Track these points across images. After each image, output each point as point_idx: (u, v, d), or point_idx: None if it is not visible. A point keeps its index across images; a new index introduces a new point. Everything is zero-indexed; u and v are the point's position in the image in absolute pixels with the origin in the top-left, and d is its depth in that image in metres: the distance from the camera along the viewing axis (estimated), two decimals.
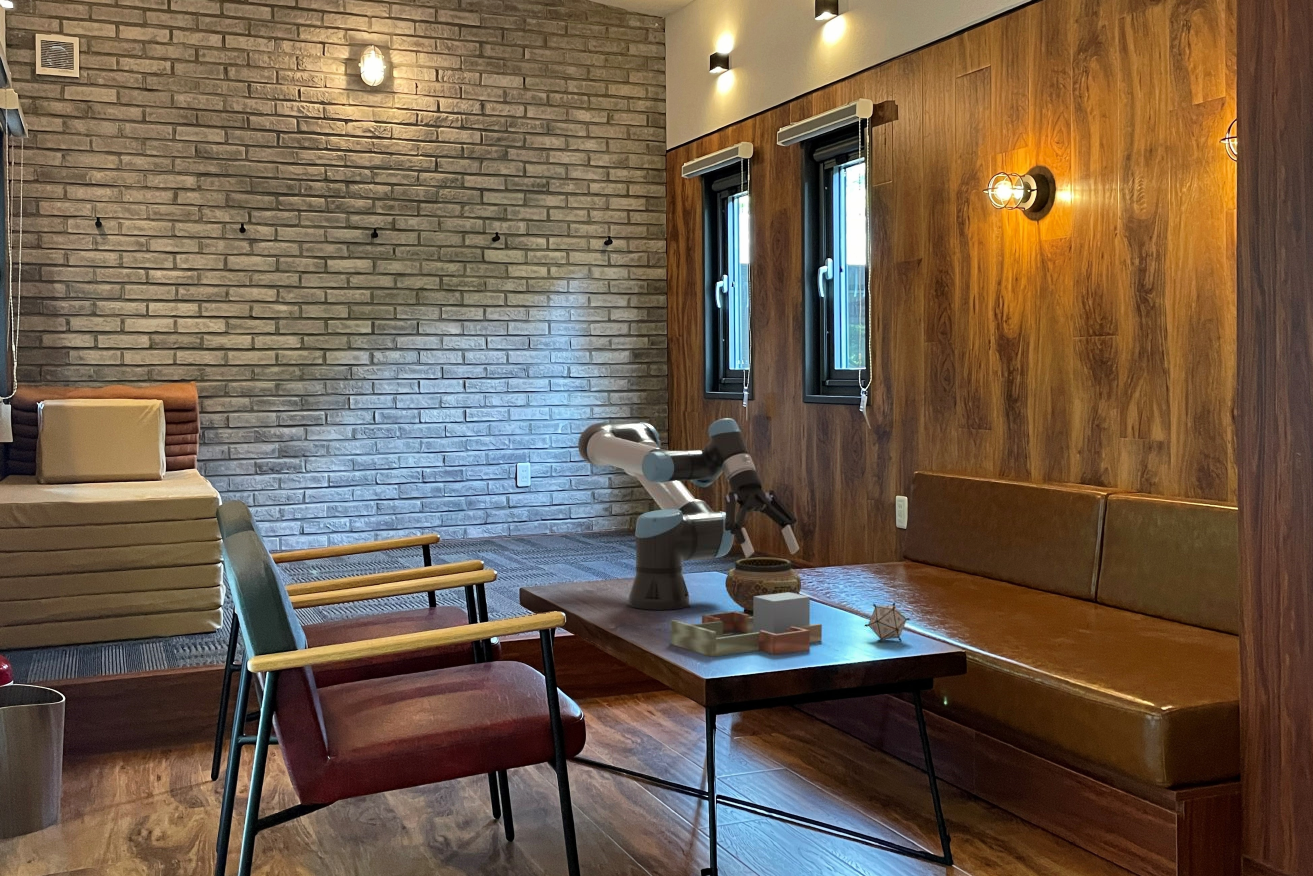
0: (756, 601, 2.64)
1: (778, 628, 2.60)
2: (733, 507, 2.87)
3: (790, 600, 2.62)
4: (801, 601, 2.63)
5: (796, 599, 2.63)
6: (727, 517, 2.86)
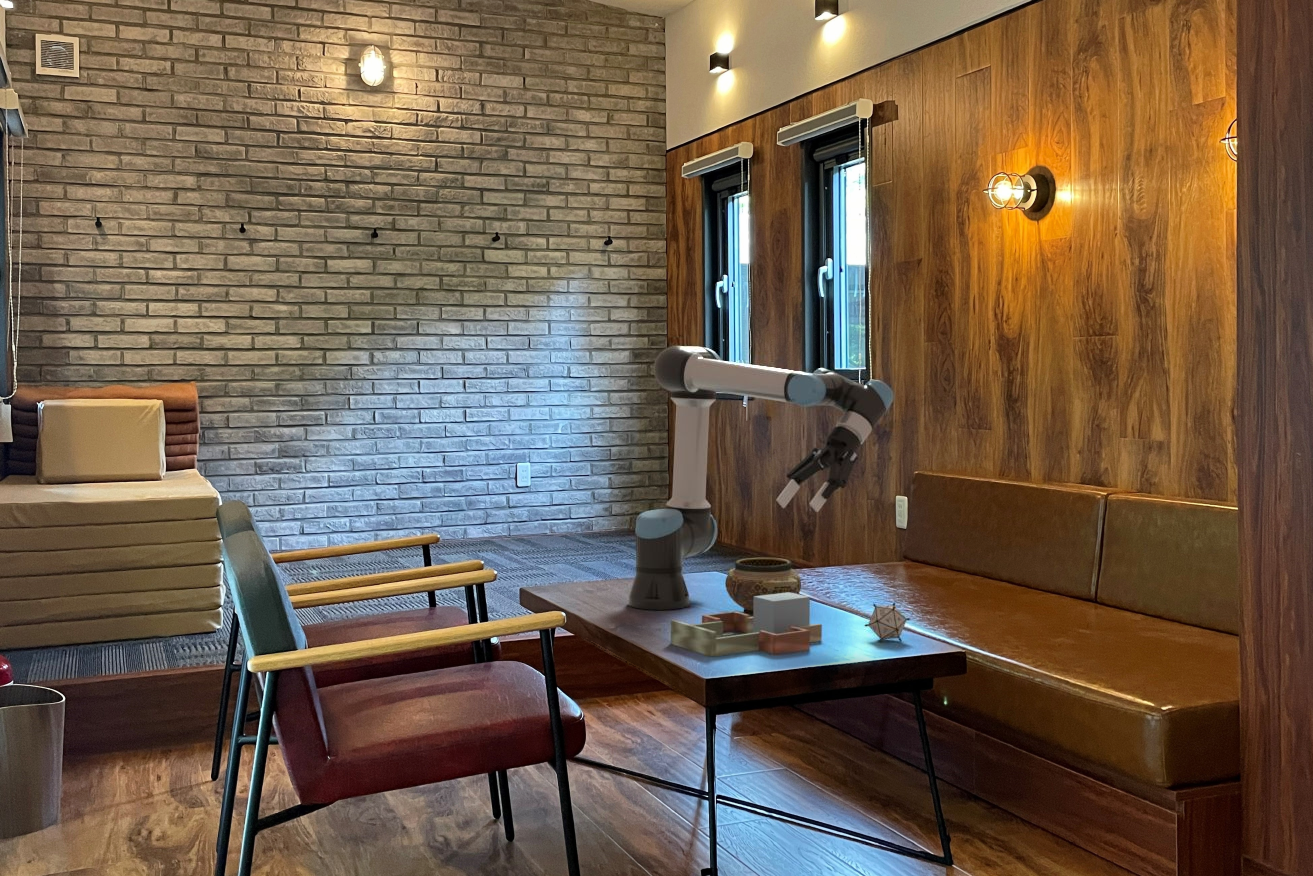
0: (756, 601, 2.64)
1: (778, 628, 2.60)
2: None
3: (790, 600, 2.62)
4: (801, 601, 2.63)
5: (796, 599, 2.63)
6: (845, 473, 2.72)
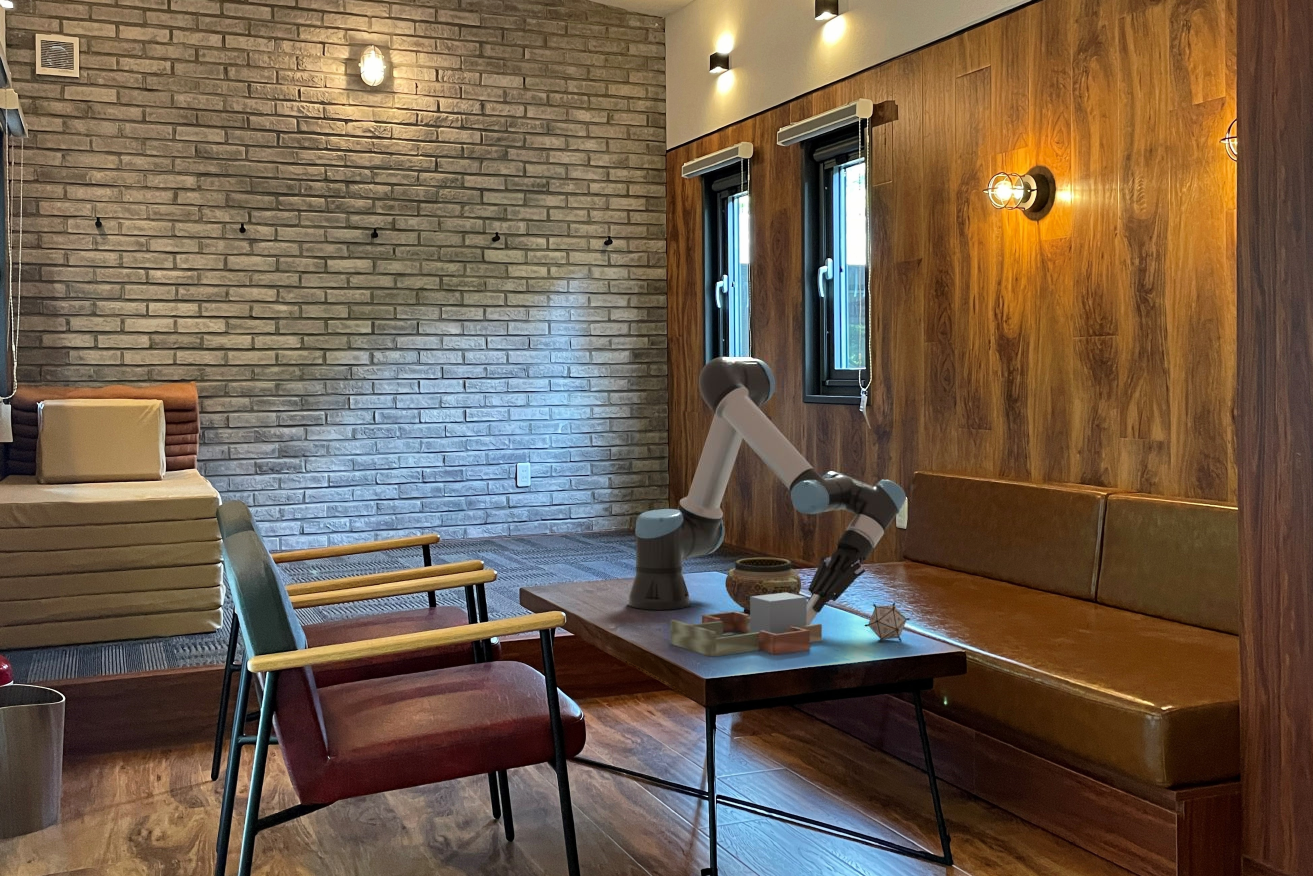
0: (753, 601, 2.64)
1: (774, 628, 2.60)
2: None
3: (787, 600, 2.61)
4: (798, 601, 2.63)
5: (793, 599, 2.62)
6: (840, 588, 2.67)
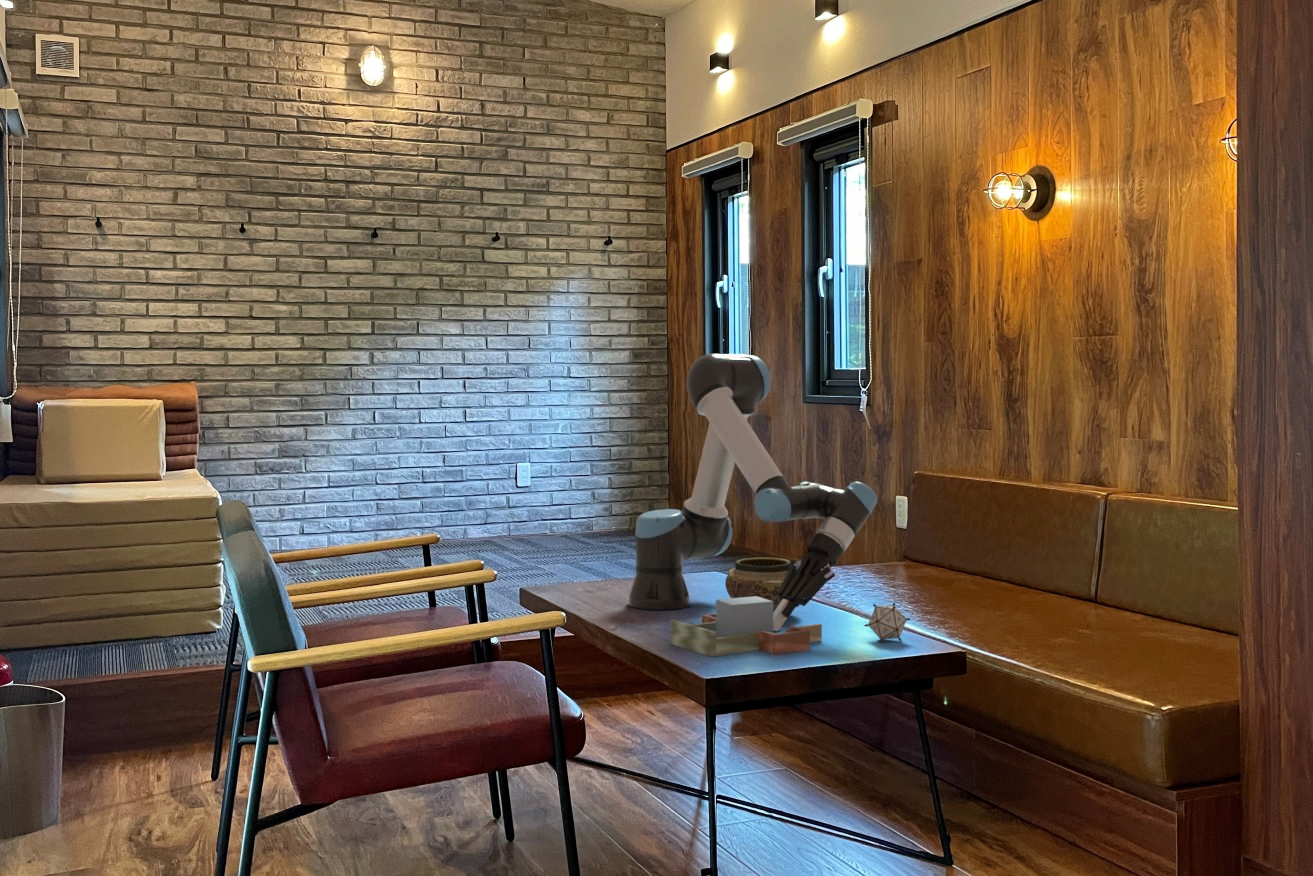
0: (718, 604, 2.60)
1: (737, 632, 2.55)
2: None
3: (751, 604, 2.56)
4: (764, 605, 2.58)
5: (758, 603, 2.57)
6: (809, 592, 2.62)
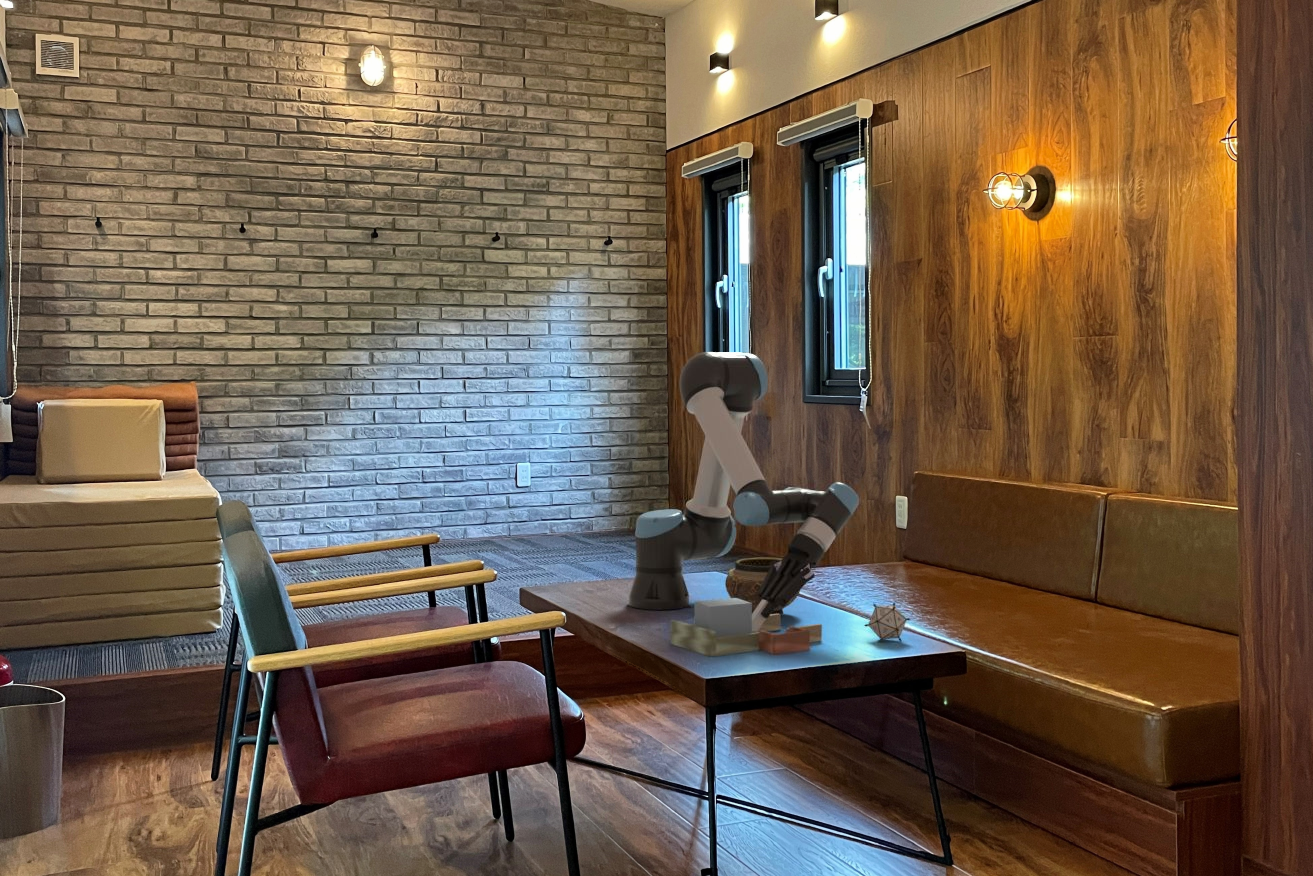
0: (696, 606, 2.58)
1: None
2: None
3: (729, 606, 2.54)
4: (742, 607, 2.55)
5: (736, 605, 2.55)
6: (789, 593, 2.60)
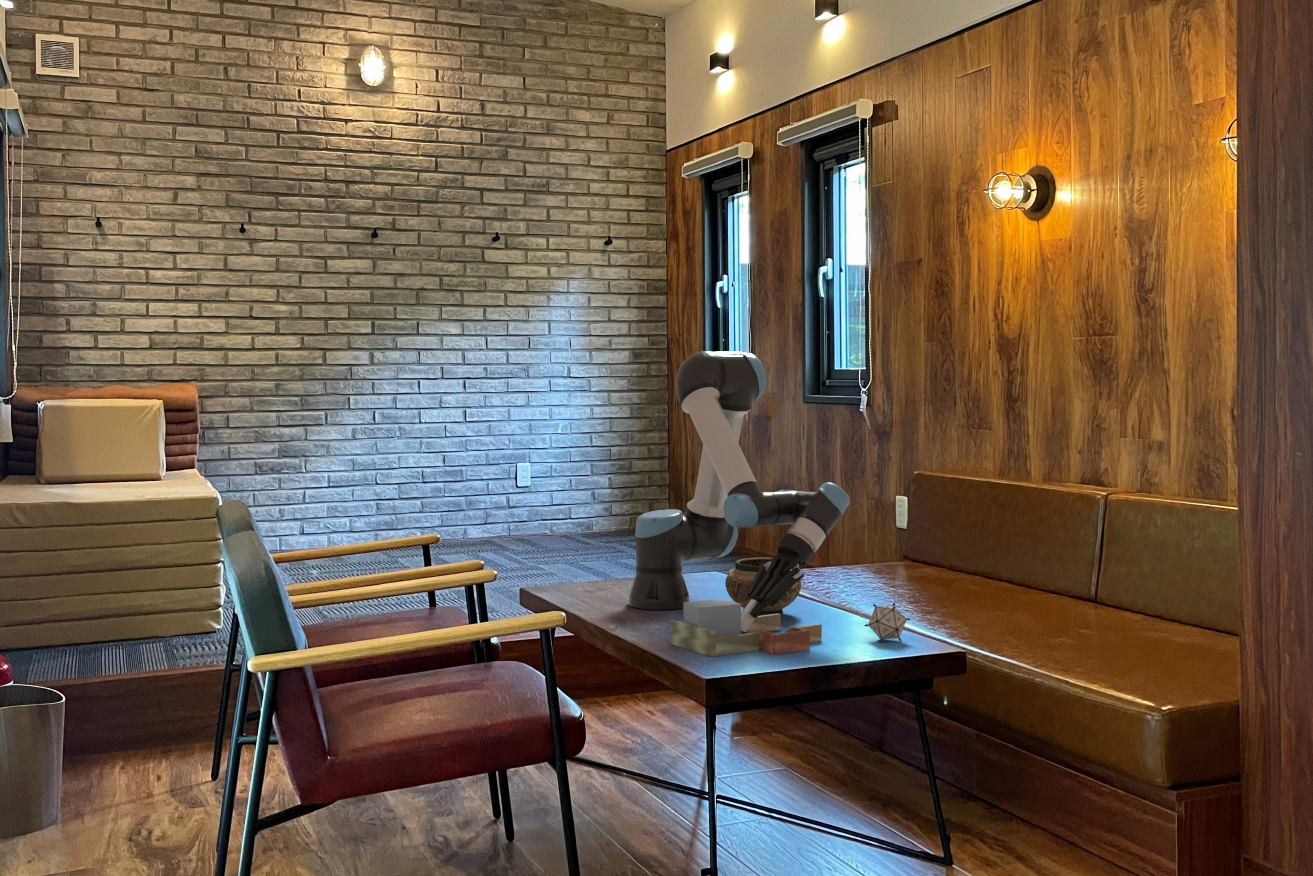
0: (685, 607, 2.57)
1: None
2: None
3: (718, 607, 2.53)
4: (731, 608, 2.55)
5: (725, 606, 2.54)
6: (778, 593, 2.59)
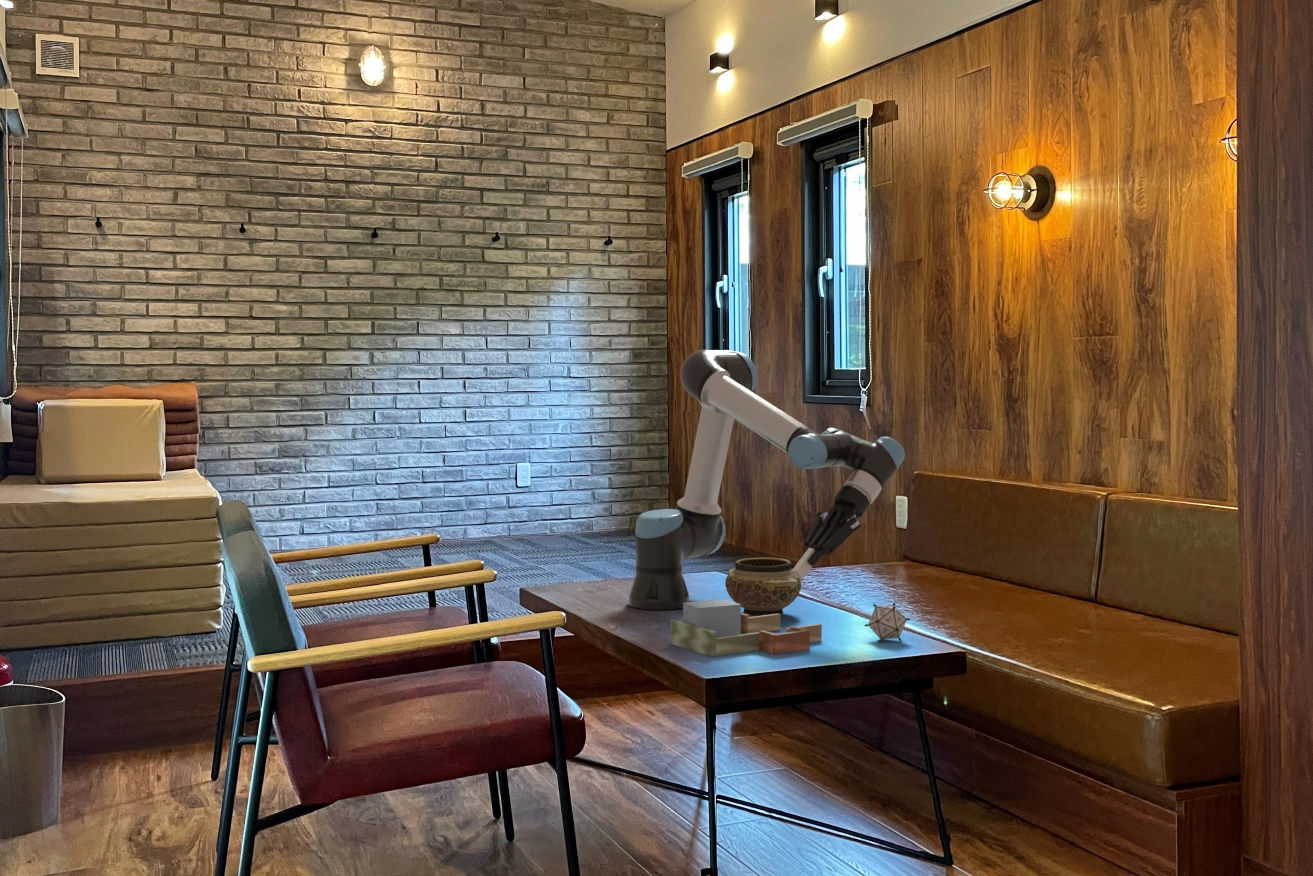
0: (685, 607, 2.57)
1: None
2: None
3: (718, 607, 2.53)
4: (731, 608, 2.55)
5: (725, 606, 2.54)
6: (835, 542, 2.66)
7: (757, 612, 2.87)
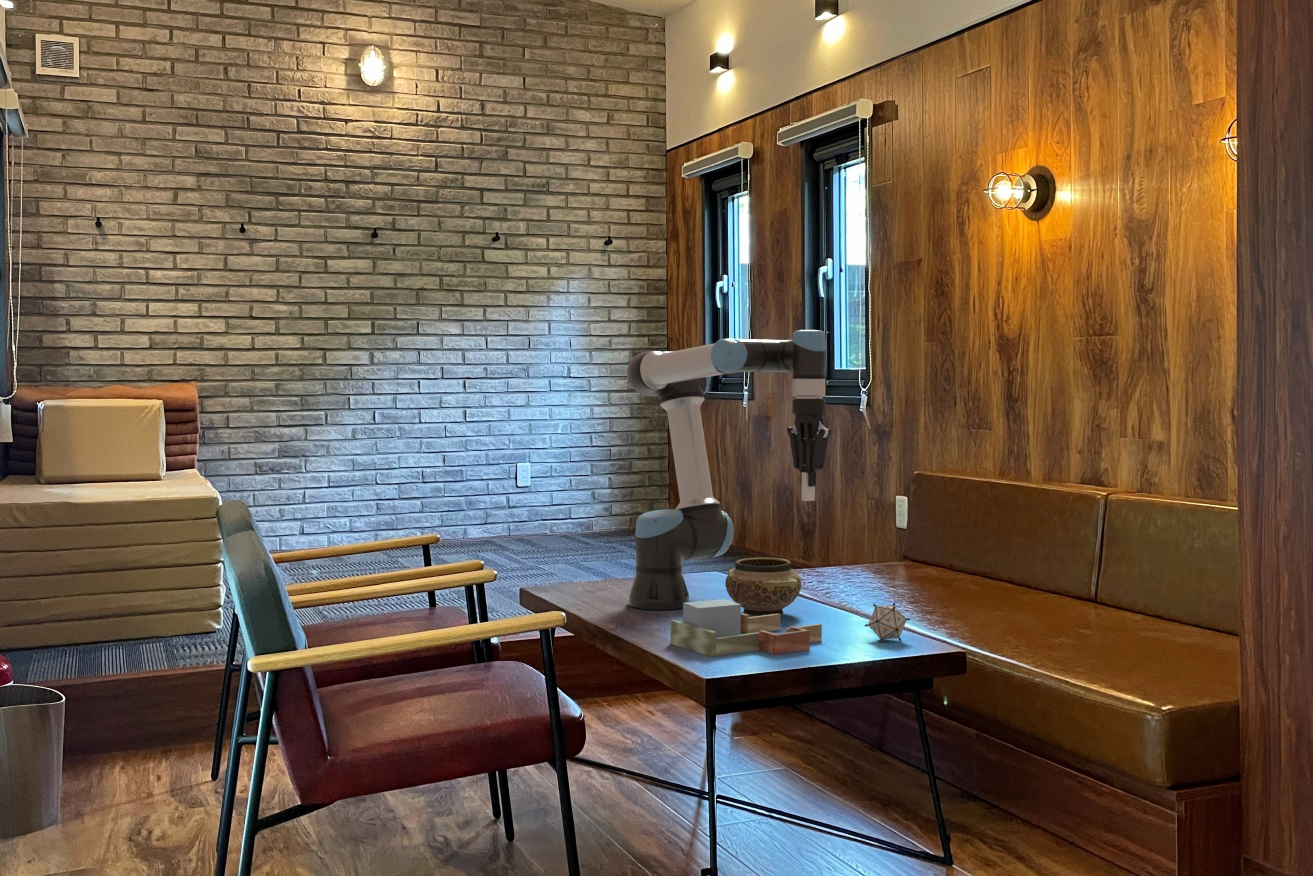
0: (685, 607, 2.57)
1: None
2: None
3: (718, 607, 2.53)
4: (731, 608, 2.55)
5: (725, 606, 2.54)
6: (820, 457, 2.76)
7: (757, 612, 2.87)
